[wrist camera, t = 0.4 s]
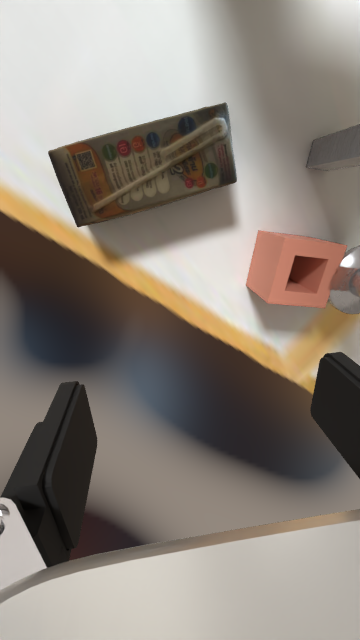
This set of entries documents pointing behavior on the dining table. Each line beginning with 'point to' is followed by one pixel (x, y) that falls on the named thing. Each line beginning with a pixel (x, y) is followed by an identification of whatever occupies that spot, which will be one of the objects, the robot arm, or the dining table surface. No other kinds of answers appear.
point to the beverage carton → (146, 165)
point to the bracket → (295, 269)
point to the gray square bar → (336, 150)
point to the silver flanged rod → (356, 298)
